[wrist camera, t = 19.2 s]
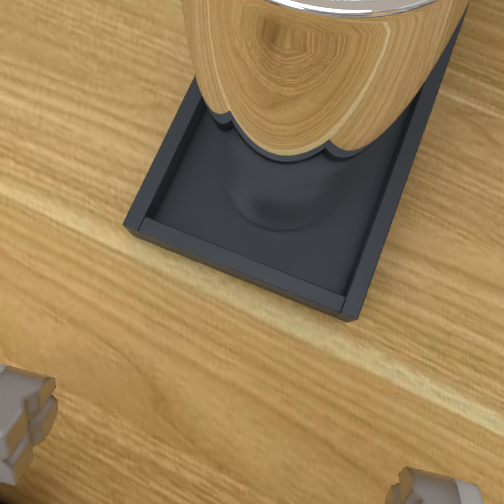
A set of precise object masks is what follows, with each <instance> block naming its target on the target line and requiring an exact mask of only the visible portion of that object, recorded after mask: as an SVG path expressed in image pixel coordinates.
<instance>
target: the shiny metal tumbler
mask: <svg viewBox="0 0 504 504" xmlns="http://www.w3.org/2000/svg"><path fill="white" fill-rule="evenodd" d="M469 1H470V0H181V3H182V10H183V17H184V24H185V30H186V37H187V43H188V48H189V52H190V56H191V60H192V64H193V68H194V72H195V76H196V80H197V83H198V86H199V89H200V91H201V94H202V96H203V99H204V101H205V104H206V106H207V109H208V111H209V114H210V116H211V118H212V120H213V122H214V124H215V126H216V127H217V129H218V131H219V133H220V135H221V137H222V139H223V141H224V143H225V144H226V146H227V150H226V154H225V157H224V163H223V182H224V186H225V190H226V193H227V195H228V197H229V199H230V201H231V202H232V204H233V205H234V206H235V208H236V209H237V210H238V211H239V212H240V213H241V214H242V215H243V216H245V217H246V218H247V219H249V220H250V221H252V222H254V223H256V224H258V225H260V226H263V227H266V228H270V229H276V230H290V229H296V228H300V227H303V226H306V225H309V224H311V223H313V222H314V221H316V220H318V219H319V218H320V217H322V216H323V215H324V214H325V213H326V212H327V211H328V210H329V209H330V208H331V206H332V205H333V204H334V202H335V200H336V198H337V196H338V194H339V191H340V188H341V184H342V177H343V170H344V169H345V168H346V167H347V166H349V165H350V164H351V163H352V162H354V161H355V160H356V159H357V158H358V157H360V156H361V155H362V154H363V153H364V152H365V151H367V150H368V149H369V148H370V147H371V146H372V145H373V144H374V143H375V142H376V141H377V140H378V139H379V138H380V137H381V136H382V135H383V134H384V133H385V132H386V131H387V130H388V129H389V128H390V127H391V126H392V125H393V124H394V123H395V122H396V121H397V120H398V118H399V117H400V116H401V114H402V113H403V112H404V110H405V109H406V108H407V106H408V105H409V103H410V102H411V101H412V99H413V98H414V97H415V95H416V94H417V93H418V91H419V90H420V88H421V87H422V86H423V84H424V82H425V81H426V79H427V77H428V76H429V74H430V72H431V71H432V69H433V67H434V66H435V64H436V62H437V61H438V59H439V58H440V56H441V54H442V53H443V51H444V49H445V47H446V45H447V44H448V42H449V40H450V38H451V36H452V34H453V32H454V30H455V29H456V27H457V25H458V23H459V21H460V19H461V17H462V15H463V13H464V11H465V9H466V7H467V5H468V3H469Z"/></svg>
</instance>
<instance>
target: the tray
mask: <svg viewBox="0 0 504 504" xmlns="http://www.w3.org/2000/svg"><path fill="white" fill-rule="evenodd" d="M469 2H470V1H469ZM468 5H469V3H468ZM468 5H467V7H466V9H465V11H464V13H463V15H462V17H461V19H460V21H459V23H458V25H457V27H456V29H455V30H454V32H453V34H452V36H451V38H450V40H449V42H448V44H447V45H446V47H445V49H444V51H443V53H442V54H441V56H440V58H439V59H438V61H437V62H436V64H435V66H434V67H433V69H432V71H431V72H430V74H429V76H428V77H427V79H426V81H425V82H424V84H423V86H422V87H421V88H420V90H419V91H418V93H417V94H416V95H415V97H414V98H413V99H412V101H411V102H410V103H409V105H408V106H407V108H406V109H405V110H404V112H403V113H402V114H401V116H400V117H399V118H398V120H397V121H396V122H395V123H394V124H393V125H392V126H391V127H390V128H389V129H388V130H387V131H386V132H385V133H384V134H383V135H382V136H381V137H380V138H379V139H378V140H377V141H376V142H375V143H374V144H373V145H372V146H371V147H370V148H369V149H368V150H367V151H365V152H364V153H363V154H362V155H361V156H360V157H358V158H357V159H356V160H355V161H354V162H352V163H351V164H350V165H349V166H347V167H346V168H345V169H344V170H343V177H342V184H341V188H340V191H339V194H338V196H337V198H336V200H335V202H334V204H333V205H332V206H331V208H330V209H329V210H328V211H327V212H326V213H325V214H324V215H323V216H322V217H320V218H319V219H318V220H316V221H314V222H313V223H311V224H309V225H306V226H303V227H300V228H296V229H290V230H276V229H270V228H266V227H263V226H260V225H258V224H256V223H254V222H252V221H250V220H249V219H247V218H246V217H245V216H243V215H242V214H241V213H240V212H239V211H238V210H237V209H236V208H235V206H234V205H233V204H232V202H231V201H230V199H229V197H228V195H227V193H226V190H225V186H224V182H223V163H224V157H225V154H226V150H227V146H226V144H225V143H224V141H223V139H222V137H221V135H220V133H219V131H218V129H217V127H216V126H215V124H214V122H213V120H212V118H211V116H210V114H209V111H208V109H207V106H206V104H205V101H204V99H203V96H202V94H201V91H200V89H199V86H198V83H197V80H196V76H195V77H194V79H193V81H192V83H191V85H190V87H189V89H188V91H187V93H186V95H185V97H184V99H183V101H182V103H181V105H180V108H179V110H178V112H177V114H176V116H175V118H174V120H173V122H172V124H171V126H170V128H169V130H168V132H167V134H166V136H165V138H164V140H163V142H162V144H161V146H160V149H159V151H158V153H157V155H156V157H155V159H154V161H153V163H152V165H151V167H150V169H149V171H148V173H147V175H146V177H145V179H144V181H143V183H142V185H141V188H140V190H139V192H138V194H137V196H136V198H135V200H134V202H133V204H132V206H131V208H130V210H129V212H128V214H127V216H126V218H125V220H124V222H123V226H124V227H125V228H126V229H127V230H128V231H129V232H130V233H131V234H132V235H133V236H135V237H138V238H140V239H143V240H145V241H147V242H150V243H152V244H155V245H157V246H160V247H162V248H165V249H167V250H170V251H172V252H175V253H177V254H180V255H182V256H184V257H187V258H189V259H192V260H194V261H197V262H199V263H202V264H204V265H207V266H209V267H212V268H214V269H217V270H219V271H221V272H224V273H226V274H229V275H231V276H234V277H236V278H239V279H241V280H244V281H246V282H249V283H251V284H254V285H256V286H258V287H261V288H263V289H266V290H268V291H271V292H273V293H276V294H278V295H281V296H283V297H286V298H288V299H291V300H293V301H295V302H298V303H300V304H303V305H305V306H308V307H310V308H313V309H315V310H318V311H320V312H323V313H325V314H328V315H330V316H332V317H335V318H337V319H340V320H342V321H345V322H350V321H354V320H357V319H358V317H359V314H360V311H361V308H362V305H363V302H364V300H365V297H366V294H367V291H368V288H369V285H370V283H371V280H372V277H373V274H374V271H375V268H376V266H377V263H378V260H379V257H380V254H381V251H382V249H383V246H384V243H385V240H386V237H387V234H388V232H389V229H390V226H391V223H392V220H393V217H394V215H395V212H396V209H397V206H398V203H399V200H400V198H401V195H402V192H403V189H404V186H405V183H406V181H407V178H408V175H409V172H410V169H411V166H412V164H413V161H414V158H415V155H416V152H417V149H418V147H419V144H420V141H421V138H422V135H423V132H424V130H425V127H426V124H427V121H428V118H429V115H430V113H431V110H432V107H433V104H434V101H435V98H436V96H437V93H438V90H439V87H440V84H441V81H442V79H443V76H444V73H445V70H446V67H447V64H448V62H449V59H450V56H451V53H452V50H453V47H454V45H455V42H456V39H457V36H458V33H459V30H460V28H461V25H462V22H463V19H464V16H465V13H466V11H467V8H468Z"/></svg>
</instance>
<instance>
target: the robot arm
mask: <svg viewBox="0 0 504 504" xmlns="http://www.w3.org/2000/svg"><path fill="white" fill-rule="evenodd" d="M55 388H56V384H55V378H53V377H49V376H45V375H42V374H38V373H34V372H31V371H27V370H23V369H19V368H16V367H12V366H9V365H5V364H1V363H0V483H5V484H9V485H13V486H16V485H17V483H18V482H19V480H20V478H21V477H22V475H23V474H24V472H25V471H26V469H27V467H28V466H29V464H30V463H31V461H32V460H33V449H32V448H33V447H34V446H36V445H38V444H39V443H41V442H43V441H44V440H45V439H46V437H47V436H48V434H49V432H50V431H51V429H52V426H53V424H54V421H55V419H56V416H57V410H58V402H57V399H56V398H55V397H54V396H53V395H52V393H53V391H54V390H55ZM399 482H400V483H397V484H395V485H392V486H391V488H390V490H389V491H388V493H387V496H386V501H385V504H484V503H483V500H482V496H481V493H480V490H479V488H478V487H477V485H476V484H474V483H471V482H467V481H463V480H458V479H454V478H450V477H449V476H445V475H441V474H436V473H432V472H428V471H424V470H419V469H415V468H411V467H405V468H403V469H402V470H401V472H400V473H399Z"/></svg>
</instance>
